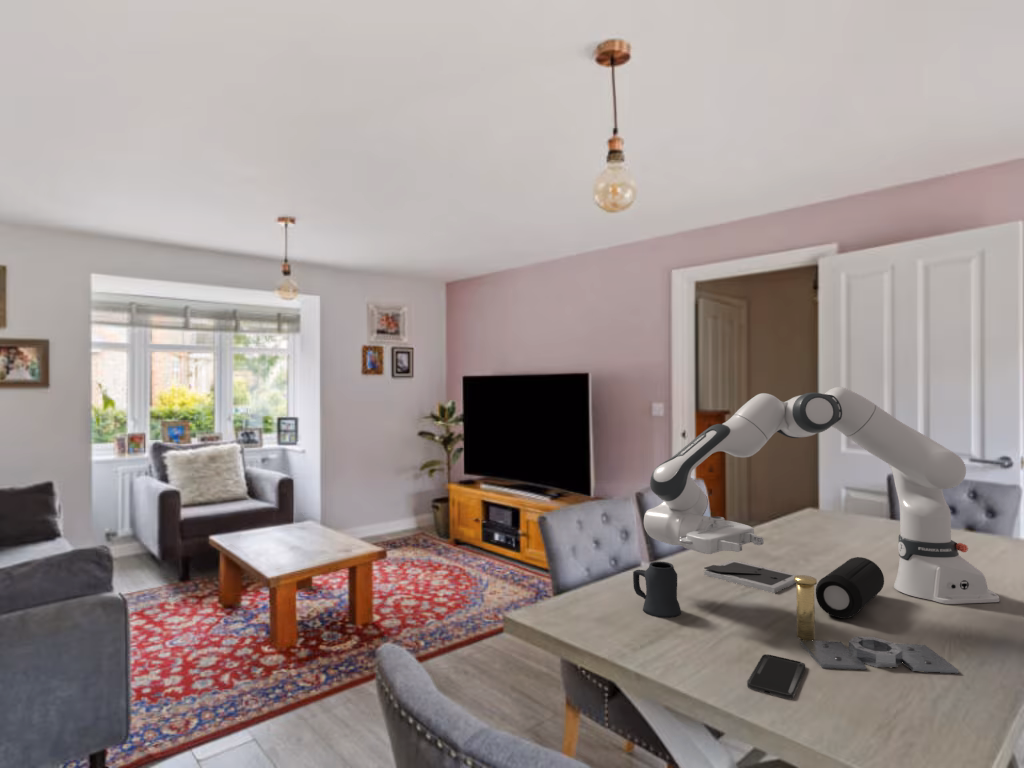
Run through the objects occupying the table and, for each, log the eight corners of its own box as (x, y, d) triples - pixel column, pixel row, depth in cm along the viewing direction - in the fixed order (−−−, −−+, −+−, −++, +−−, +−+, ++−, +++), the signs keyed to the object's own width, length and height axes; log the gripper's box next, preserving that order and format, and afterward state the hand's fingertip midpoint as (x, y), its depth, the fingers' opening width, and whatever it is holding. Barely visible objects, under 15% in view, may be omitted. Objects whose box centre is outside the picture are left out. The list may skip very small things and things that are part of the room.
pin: (812, 633, 132) (811, 575, 132) (820, 642, 128) (819, 581, 128) (791, 633, 132) (791, 574, 133) (798, 641, 128) (798, 581, 128)
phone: (806, 663, 116) (792, 695, 104) (806, 669, 116) (792, 702, 104) (763, 653, 121) (745, 683, 108) (763, 658, 121) (745, 689, 108)
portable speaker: (844, 589, 161) (844, 551, 161) (887, 597, 154) (886, 559, 154) (812, 615, 143) (811, 573, 143) (858, 626, 136) (858, 582, 136)
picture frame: (704, 577, 174) (774, 596, 158) (704, 567, 174) (774, 585, 158) (732, 566, 184) (801, 583, 168) (732, 557, 184) (801, 573, 168)
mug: (687, 610, 147) (687, 564, 147) (669, 621, 140) (669, 572, 140) (644, 598, 155) (643, 555, 155) (625, 608, 148) (624, 562, 148)
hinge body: (924, 648, 124) (924, 636, 124) (958, 673, 113) (958, 660, 113) (800, 643, 127) (800, 632, 127) (821, 667, 116) (821, 655, 116)
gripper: (674, 526, 144) (726, 537, 133) (722, 515, 157) (773, 525, 146) (674, 552, 144) (726, 566, 133) (722, 539, 157) (773, 551, 146)
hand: (751, 544), depth 140 cm, fingers open, 8 cm apart
